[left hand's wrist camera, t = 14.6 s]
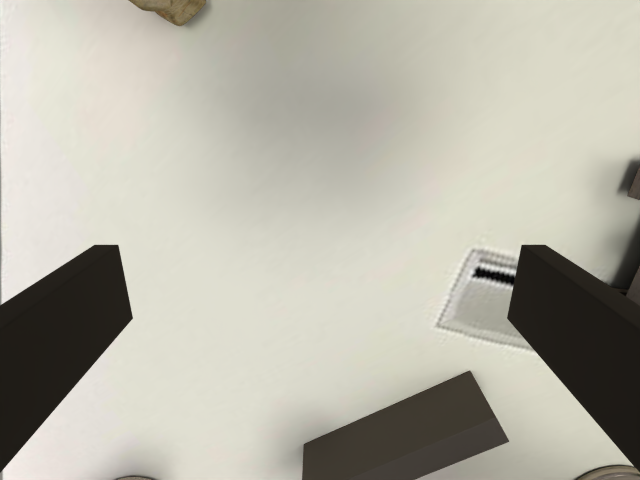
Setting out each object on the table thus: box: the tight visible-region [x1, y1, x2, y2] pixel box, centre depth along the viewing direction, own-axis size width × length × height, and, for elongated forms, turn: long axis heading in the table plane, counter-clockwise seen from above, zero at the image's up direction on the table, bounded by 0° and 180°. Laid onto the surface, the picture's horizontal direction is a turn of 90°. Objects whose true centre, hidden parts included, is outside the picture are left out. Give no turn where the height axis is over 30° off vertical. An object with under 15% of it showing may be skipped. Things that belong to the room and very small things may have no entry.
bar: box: [302, 371, 509, 480], centre depth 52 cm, size 27×4×8 cm, turn 120°
